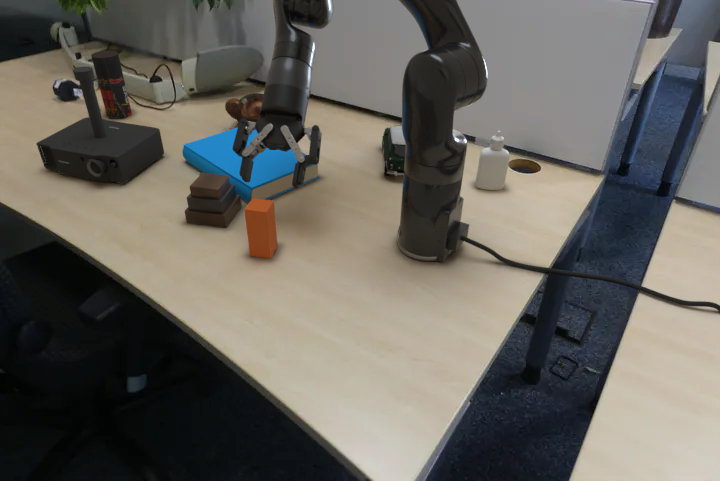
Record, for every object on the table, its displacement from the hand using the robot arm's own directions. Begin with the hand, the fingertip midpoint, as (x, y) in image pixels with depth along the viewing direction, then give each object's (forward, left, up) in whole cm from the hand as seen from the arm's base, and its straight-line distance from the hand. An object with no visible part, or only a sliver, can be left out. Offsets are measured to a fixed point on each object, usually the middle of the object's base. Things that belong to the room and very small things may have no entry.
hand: (270, 183), depth 90 cm
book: (+19, -16, -10) cm, 27 cm away
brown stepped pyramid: (+13, +1, -10) cm, 17 cm away
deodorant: (+66, -21, -10) cm, 70 cm away
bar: (-1, +5, -10) cm, 11 cm away
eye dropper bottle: (-26, -37, -10) cm, 46 cm away
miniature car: (-6, -37, -10) cm, 39 cm away
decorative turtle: (+33, -35, -10) cm, 50 cm away
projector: (+46, -1, -10) cm, 47 cm away
